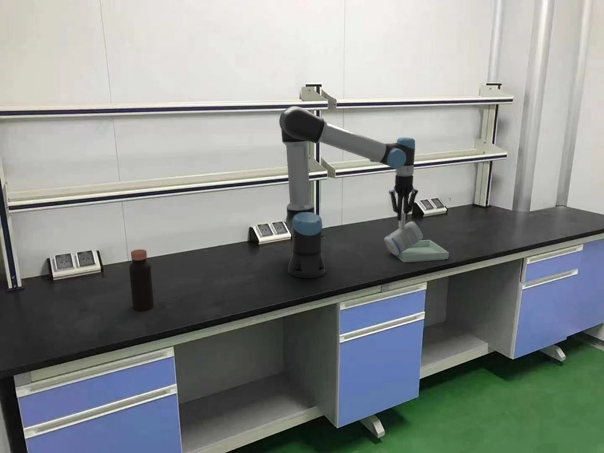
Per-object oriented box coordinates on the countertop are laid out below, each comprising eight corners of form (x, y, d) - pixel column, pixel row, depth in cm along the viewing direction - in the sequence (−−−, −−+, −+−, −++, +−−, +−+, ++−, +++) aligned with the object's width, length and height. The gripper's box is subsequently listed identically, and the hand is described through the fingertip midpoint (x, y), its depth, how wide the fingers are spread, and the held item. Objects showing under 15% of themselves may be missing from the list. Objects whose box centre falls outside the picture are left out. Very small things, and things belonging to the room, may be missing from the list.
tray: (403, 262, 211) (404, 255, 210) (387, 248, 228) (388, 242, 227) (448, 259, 216) (448, 252, 215) (429, 246, 233) (429, 239, 232)
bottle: (151, 311, 164) (146, 255, 159) (130, 311, 164) (125, 255, 158) (155, 302, 171) (151, 248, 165) (135, 302, 170) (130, 248, 165)
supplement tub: (397, 260, 217) (425, 242, 219) (392, 246, 211) (421, 228, 212) (386, 247, 225) (413, 231, 226) (381, 234, 219) (408, 217, 220)
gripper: (393, 177, 205) (390, 231, 212) (422, 175, 207) (419, 228, 214) (386, 173, 212) (384, 226, 219) (415, 172, 214) (412, 223, 221)
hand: (401, 227), depth 216 cm, fingers closed
